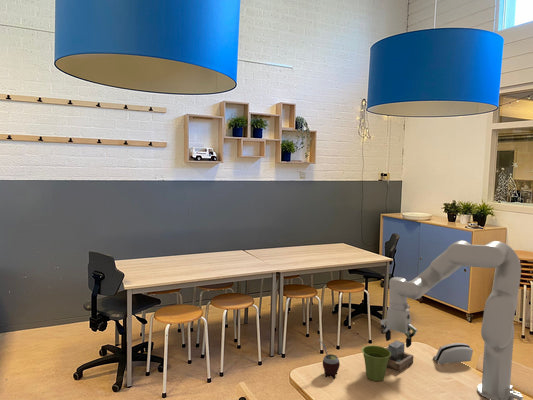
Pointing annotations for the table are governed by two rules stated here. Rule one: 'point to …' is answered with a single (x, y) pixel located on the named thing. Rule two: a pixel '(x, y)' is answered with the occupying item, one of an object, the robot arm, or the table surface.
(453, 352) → the grey rounded block
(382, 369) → the plant pot
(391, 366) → the square wooden tray
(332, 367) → the mate gourd
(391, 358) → the grey block
